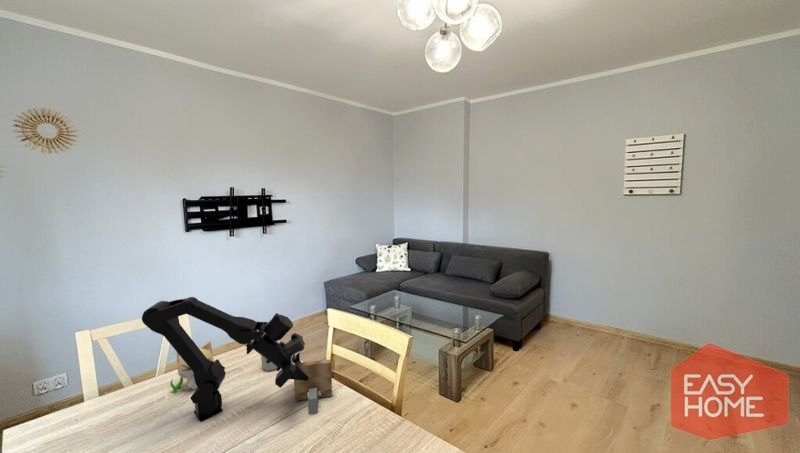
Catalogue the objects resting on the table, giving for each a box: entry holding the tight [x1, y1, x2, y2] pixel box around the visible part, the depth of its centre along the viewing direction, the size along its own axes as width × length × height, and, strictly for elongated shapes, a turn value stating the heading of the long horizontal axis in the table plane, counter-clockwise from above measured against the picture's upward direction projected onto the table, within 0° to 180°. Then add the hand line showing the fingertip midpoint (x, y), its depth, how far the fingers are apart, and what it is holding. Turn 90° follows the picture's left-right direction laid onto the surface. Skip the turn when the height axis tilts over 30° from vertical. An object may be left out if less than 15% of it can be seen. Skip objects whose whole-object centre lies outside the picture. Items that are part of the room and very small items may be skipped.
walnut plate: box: [293, 359, 333, 402], centre depth 109 cm, size 12×2×12 cm, turn 102°
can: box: [260, 339, 282, 372], centre depth 128 cm, size 8×8×12 cm
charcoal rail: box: [307, 388, 320, 415], centre depth 108 cm, size 14×2×5 cm, turn 12°
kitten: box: [169, 340, 215, 393], centre depth 117 cm, size 15×10×15 cm
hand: (308, 377), depth 108 cm, fingers closed on walnut plate, 2 cm apart
